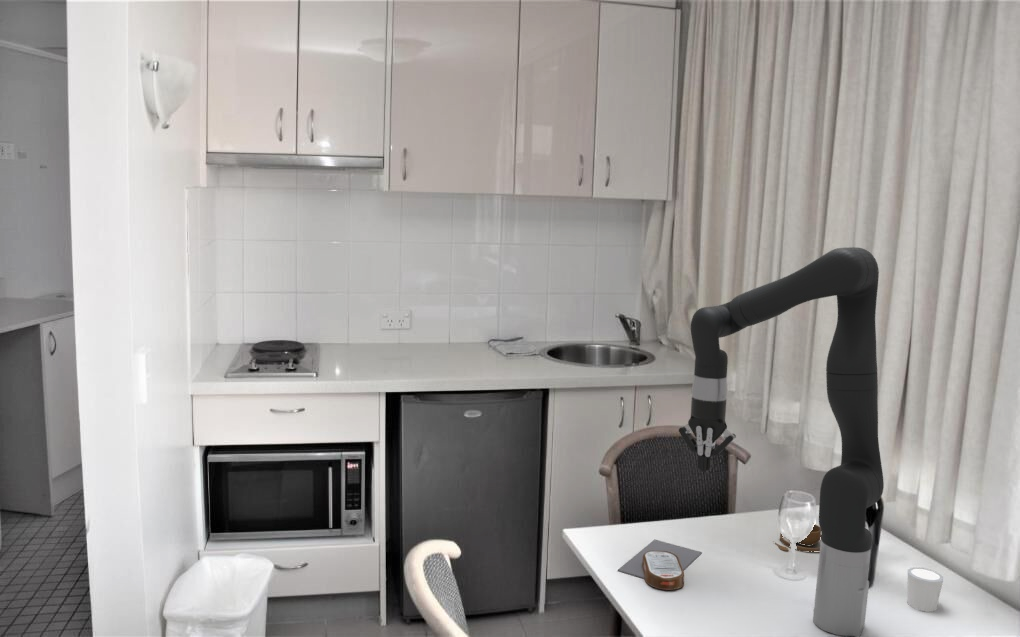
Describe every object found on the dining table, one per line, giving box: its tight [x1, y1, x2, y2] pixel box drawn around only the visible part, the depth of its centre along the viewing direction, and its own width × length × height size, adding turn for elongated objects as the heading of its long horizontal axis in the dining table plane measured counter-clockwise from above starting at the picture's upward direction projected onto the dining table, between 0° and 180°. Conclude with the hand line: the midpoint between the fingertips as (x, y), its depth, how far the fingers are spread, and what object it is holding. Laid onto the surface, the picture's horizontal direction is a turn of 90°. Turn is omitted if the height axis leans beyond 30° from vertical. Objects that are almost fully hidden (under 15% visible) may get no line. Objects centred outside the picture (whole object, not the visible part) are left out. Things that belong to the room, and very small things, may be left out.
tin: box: [642, 550, 685, 591], centre depth 185 cm, size 15×3×8 cm
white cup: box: [906, 566, 944, 613], centre depth 176 cm, size 7×7×7 cm
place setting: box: [774, 523, 821, 553], centre depth 202 cm, size 18×20×6 cm
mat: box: [617, 539, 703, 580], centre depth 192 cm, size 12×21×1 cm, turn 147°
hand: (704, 471), depth 186 cm, fingers closed
